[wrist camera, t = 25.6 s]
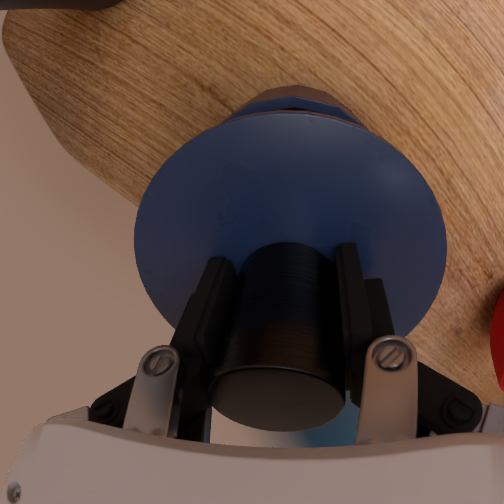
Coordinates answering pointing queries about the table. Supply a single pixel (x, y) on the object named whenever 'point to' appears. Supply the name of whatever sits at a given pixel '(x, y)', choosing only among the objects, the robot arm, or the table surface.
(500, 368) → the ceramic cup
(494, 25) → the table surface
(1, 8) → the riser
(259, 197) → the lid
